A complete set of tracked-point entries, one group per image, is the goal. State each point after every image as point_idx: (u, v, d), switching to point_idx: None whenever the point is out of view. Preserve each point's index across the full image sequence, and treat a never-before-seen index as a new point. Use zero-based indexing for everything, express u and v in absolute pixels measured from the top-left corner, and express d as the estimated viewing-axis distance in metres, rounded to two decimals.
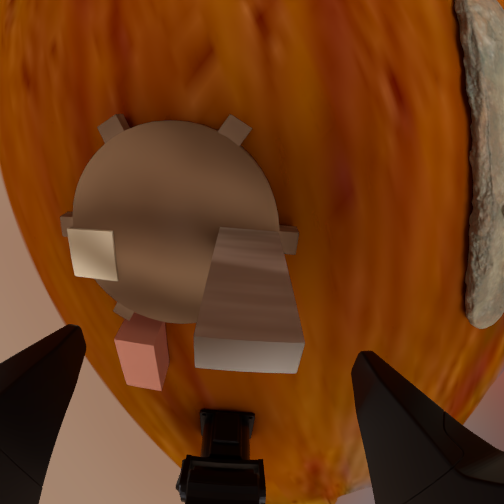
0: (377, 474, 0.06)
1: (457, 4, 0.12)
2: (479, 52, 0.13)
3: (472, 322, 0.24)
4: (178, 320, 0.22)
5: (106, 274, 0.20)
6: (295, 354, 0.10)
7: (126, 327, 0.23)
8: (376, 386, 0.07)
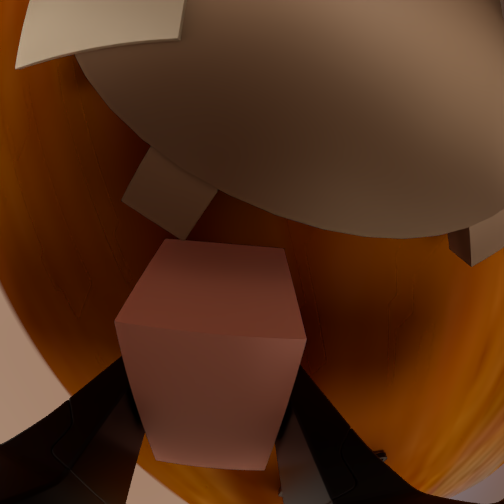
0: (284, 486, 0.06)
1: None
2: None
3: None
4: (394, 225, 0.06)
5: (134, 20, 0.04)
6: None
7: (163, 278, 0.06)
8: None
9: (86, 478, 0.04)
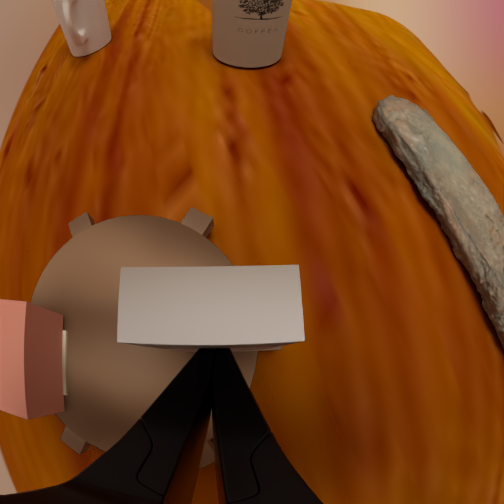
0: (217, 484, 0.06)
1: (378, 123, 0.25)
2: (415, 153, 0.22)
3: None
4: None
5: None
6: (290, 290, 0.06)
7: None
8: None
9: (172, 500, 0.04)
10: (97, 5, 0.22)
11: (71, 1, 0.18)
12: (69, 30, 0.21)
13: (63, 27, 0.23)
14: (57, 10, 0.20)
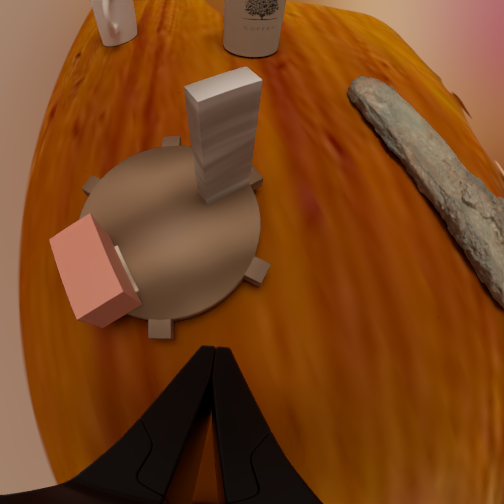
0: (217, 484, 0.06)
1: (351, 97, 0.31)
2: (380, 116, 0.29)
3: None
4: (217, 295, 0.20)
5: None
6: (248, 71, 0.14)
7: None
8: None
9: (172, 500, 0.04)
10: (128, 4, 0.29)
11: None
12: (107, 23, 0.28)
13: (98, 21, 0.30)
14: (94, 6, 0.27)
